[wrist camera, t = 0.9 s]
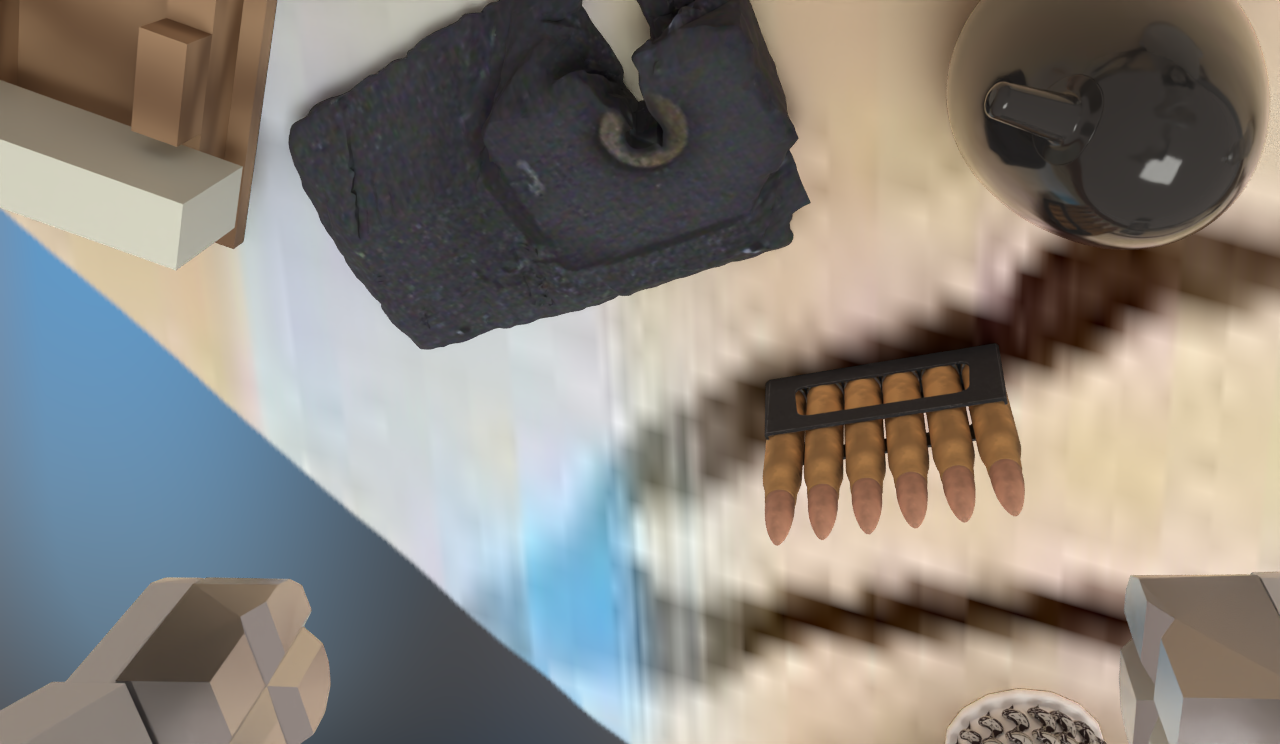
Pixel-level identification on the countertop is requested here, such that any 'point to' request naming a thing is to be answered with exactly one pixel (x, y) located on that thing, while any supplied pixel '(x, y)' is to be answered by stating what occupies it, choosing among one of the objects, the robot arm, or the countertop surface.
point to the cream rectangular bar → (111, 180)
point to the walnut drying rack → (151, 69)
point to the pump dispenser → (1111, 113)
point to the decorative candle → (1024, 720)
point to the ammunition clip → (889, 437)
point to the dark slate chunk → (552, 164)
